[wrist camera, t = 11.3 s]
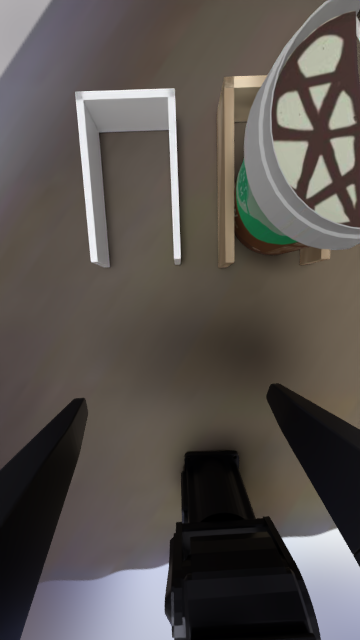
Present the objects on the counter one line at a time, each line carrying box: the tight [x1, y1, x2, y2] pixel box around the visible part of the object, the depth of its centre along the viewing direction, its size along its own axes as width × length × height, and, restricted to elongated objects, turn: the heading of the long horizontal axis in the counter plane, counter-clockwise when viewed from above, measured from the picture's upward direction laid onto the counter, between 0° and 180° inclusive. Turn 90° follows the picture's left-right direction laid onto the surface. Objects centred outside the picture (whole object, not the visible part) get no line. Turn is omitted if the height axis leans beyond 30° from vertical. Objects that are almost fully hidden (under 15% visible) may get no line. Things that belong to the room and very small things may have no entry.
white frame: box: [75, 88, 181, 267], centre depth 17 cm, size 8×14×3 cm, turn 2°
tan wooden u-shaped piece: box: [217, 75, 330, 268], centre depth 17 cm, size 10×15×3 cm, turn 2°
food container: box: [234, 0, 360, 255], centre depth 14 cm, size 12×6×10 cm, turn 9°
